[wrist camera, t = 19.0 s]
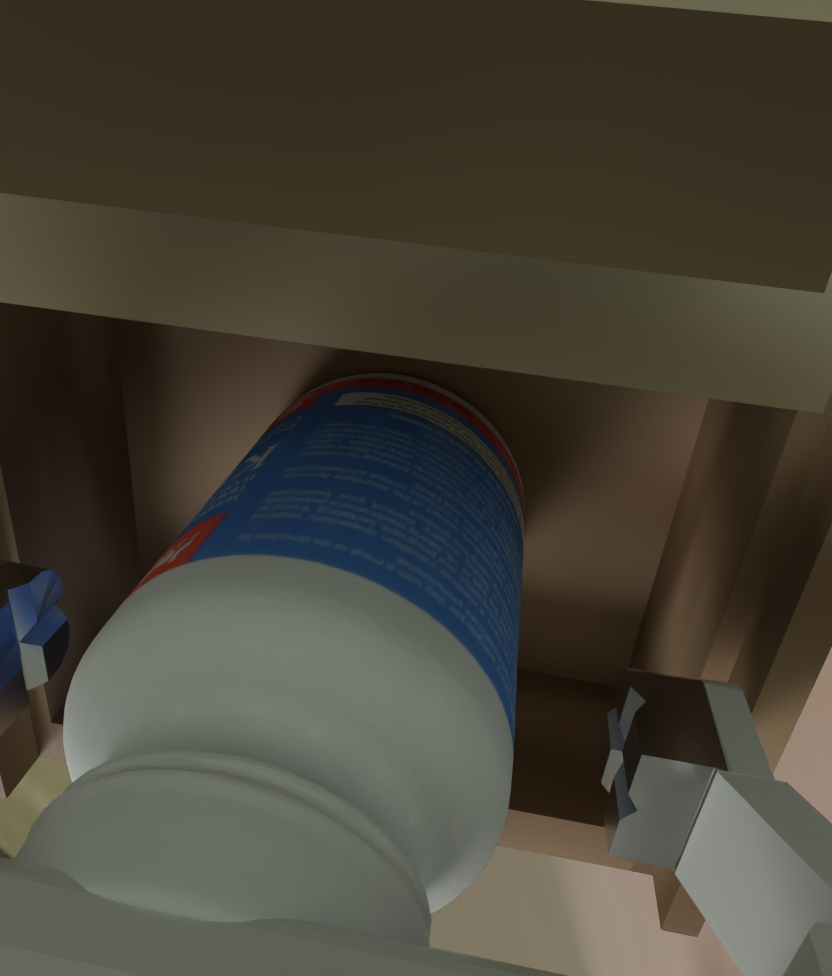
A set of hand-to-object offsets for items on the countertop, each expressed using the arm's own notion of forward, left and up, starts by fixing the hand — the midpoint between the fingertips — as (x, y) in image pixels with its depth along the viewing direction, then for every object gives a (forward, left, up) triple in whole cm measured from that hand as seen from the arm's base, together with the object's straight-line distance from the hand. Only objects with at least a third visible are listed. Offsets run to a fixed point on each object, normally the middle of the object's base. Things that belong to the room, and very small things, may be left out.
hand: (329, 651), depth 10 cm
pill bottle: (0, 0, -5) cm, 5 cm away
